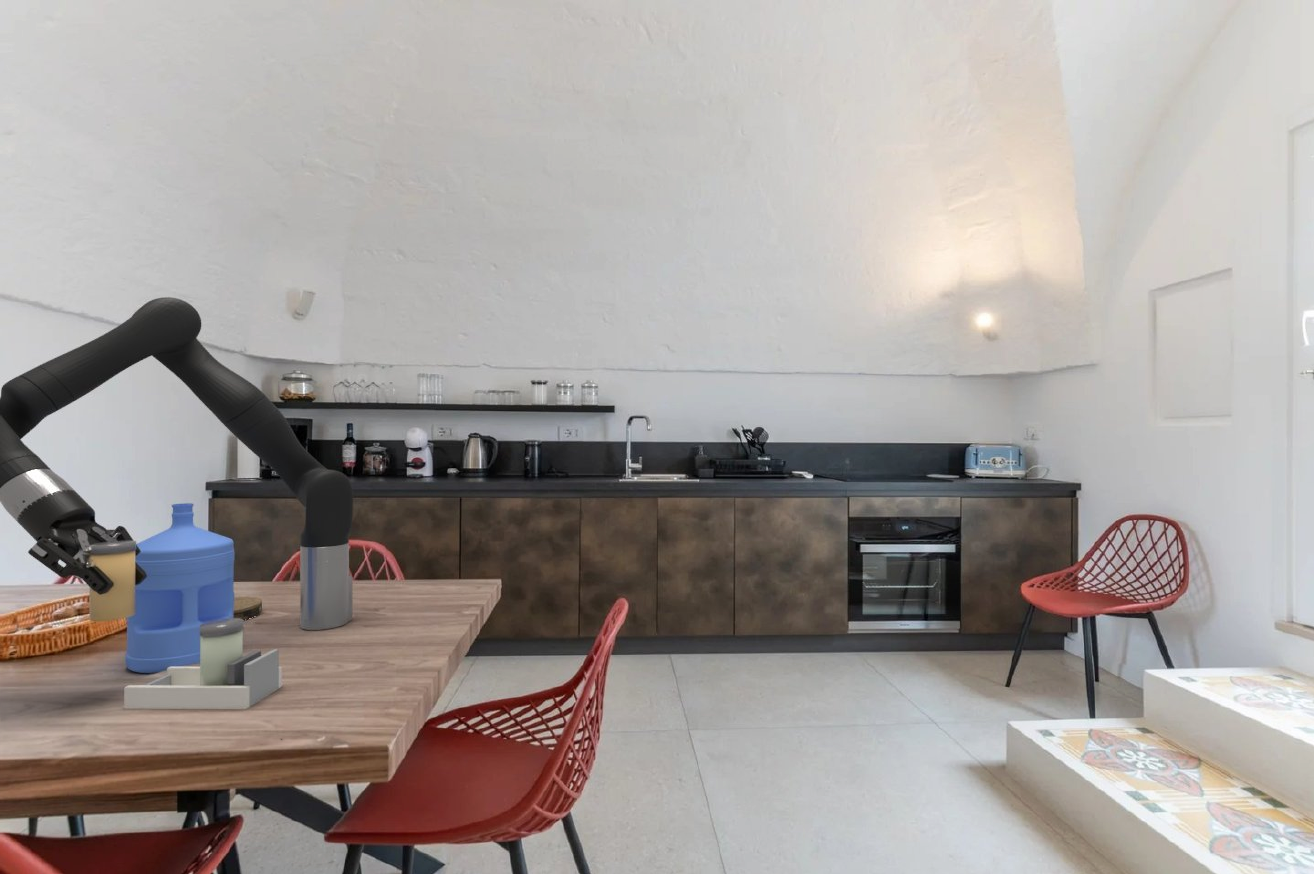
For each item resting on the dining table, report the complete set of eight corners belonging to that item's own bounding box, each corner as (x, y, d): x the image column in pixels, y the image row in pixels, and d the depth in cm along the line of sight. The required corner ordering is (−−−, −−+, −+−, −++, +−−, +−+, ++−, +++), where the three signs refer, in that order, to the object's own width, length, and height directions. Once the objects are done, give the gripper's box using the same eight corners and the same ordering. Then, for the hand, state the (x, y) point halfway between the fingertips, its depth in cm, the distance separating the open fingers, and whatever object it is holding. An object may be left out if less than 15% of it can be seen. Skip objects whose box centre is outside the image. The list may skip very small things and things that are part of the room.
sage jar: (227, 687, 97) (227, 616, 97) (251, 692, 95) (251, 620, 95) (190, 701, 92) (190, 626, 92) (215, 706, 90) (215, 630, 90)
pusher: (227, 704, 91) (227, 664, 91) (254, 688, 97) (254, 650, 97) (239, 704, 91) (239, 664, 91) (266, 688, 97) (266, 650, 97)
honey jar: (122, 610, 98) (122, 539, 98) (144, 613, 96) (144, 541, 96) (80, 619, 92) (80, 545, 93) (102, 623, 91) (102, 547, 91)
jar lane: (124, 715, 90) (124, 666, 90) (170, 691, 98) (170, 647, 98) (245, 715, 89) (245, 666, 89) (281, 692, 98) (281, 647, 98)
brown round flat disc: (218, 608, 149) (218, 595, 149) (278, 610, 147) (278, 597, 147) (155, 627, 133) (155, 613, 133) (222, 630, 131) (222, 616, 131)
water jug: (119, 660, 113) (119, 504, 113) (222, 639, 124) (223, 498, 124) (133, 682, 102) (133, 510, 102) (244, 658, 113) (245, 503, 114)
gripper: (14, 492, 87) (99, 578, 87) (106, 484, 101) (179, 558, 101) (-23, 530, 87) (61, 616, 87) (74, 517, 101) (147, 591, 101)
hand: (124, 585), depth 94 cm, fingers closed on honey jar, 5 cm apart
